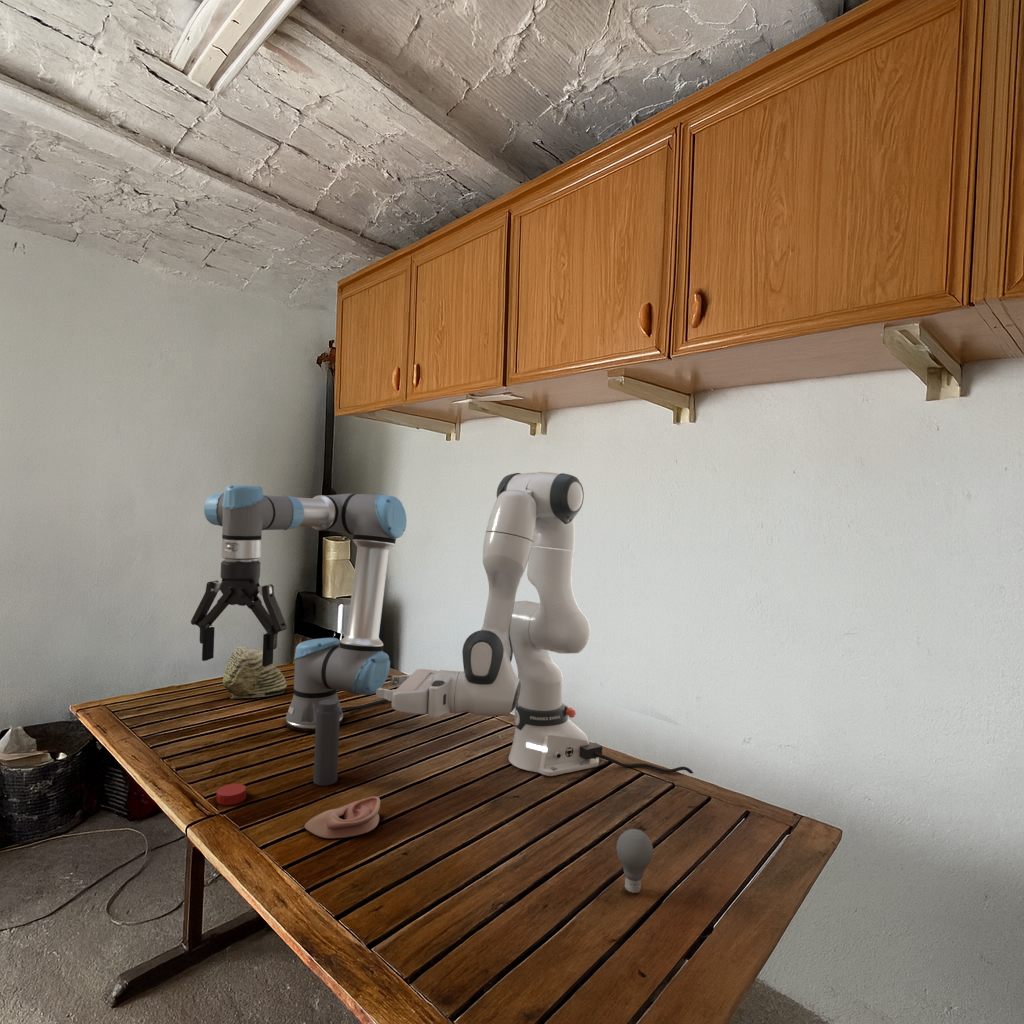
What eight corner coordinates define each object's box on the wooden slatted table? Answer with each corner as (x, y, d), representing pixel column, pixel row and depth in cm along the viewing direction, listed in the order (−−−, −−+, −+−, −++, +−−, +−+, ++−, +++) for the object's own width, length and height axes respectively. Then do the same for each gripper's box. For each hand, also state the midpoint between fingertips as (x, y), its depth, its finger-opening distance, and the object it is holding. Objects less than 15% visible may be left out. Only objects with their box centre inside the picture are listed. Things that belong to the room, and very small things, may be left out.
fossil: (218, 695, 195) (220, 647, 195) (278, 685, 208) (279, 640, 207) (228, 703, 189) (230, 653, 188) (289, 692, 201) (290, 645, 201)
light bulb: (610, 879, 108) (613, 822, 108) (644, 879, 109) (647, 822, 109) (619, 902, 102) (622, 840, 102) (655, 901, 103) (658, 840, 103)
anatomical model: (296, 812, 118) (326, 786, 130) (295, 833, 118) (325, 805, 130) (362, 823, 116) (387, 795, 127) (361, 844, 116) (386, 814, 127)
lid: (245, 803, 129) (245, 794, 129) (214, 807, 128) (214, 797, 128) (246, 791, 135) (247, 782, 135) (217, 794, 133) (218, 785, 133)
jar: (339, 783, 140) (342, 704, 140) (315, 787, 138) (318, 706, 138) (334, 774, 145) (337, 697, 145) (311, 777, 143) (314, 699, 142)
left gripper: (174, 557, 129) (170, 661, 129) (287, 565, 125) (283, 672, 125) (198, 554, 136) (195, 652, 137) (306, 561, 132) (302, 662, 133)
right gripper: (455, 664, 148) (398, 660, 150) (435, 690, 128) (369, 684, 130) (454, 691, 148) (397, 686, 150) (433, 721, 128) (367, 715, 130)
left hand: (237, 662), depth 131 cm, fingers open, 13 cm apart
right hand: (384, 686), depth 140 cm, fingers open, 8 cm apart
